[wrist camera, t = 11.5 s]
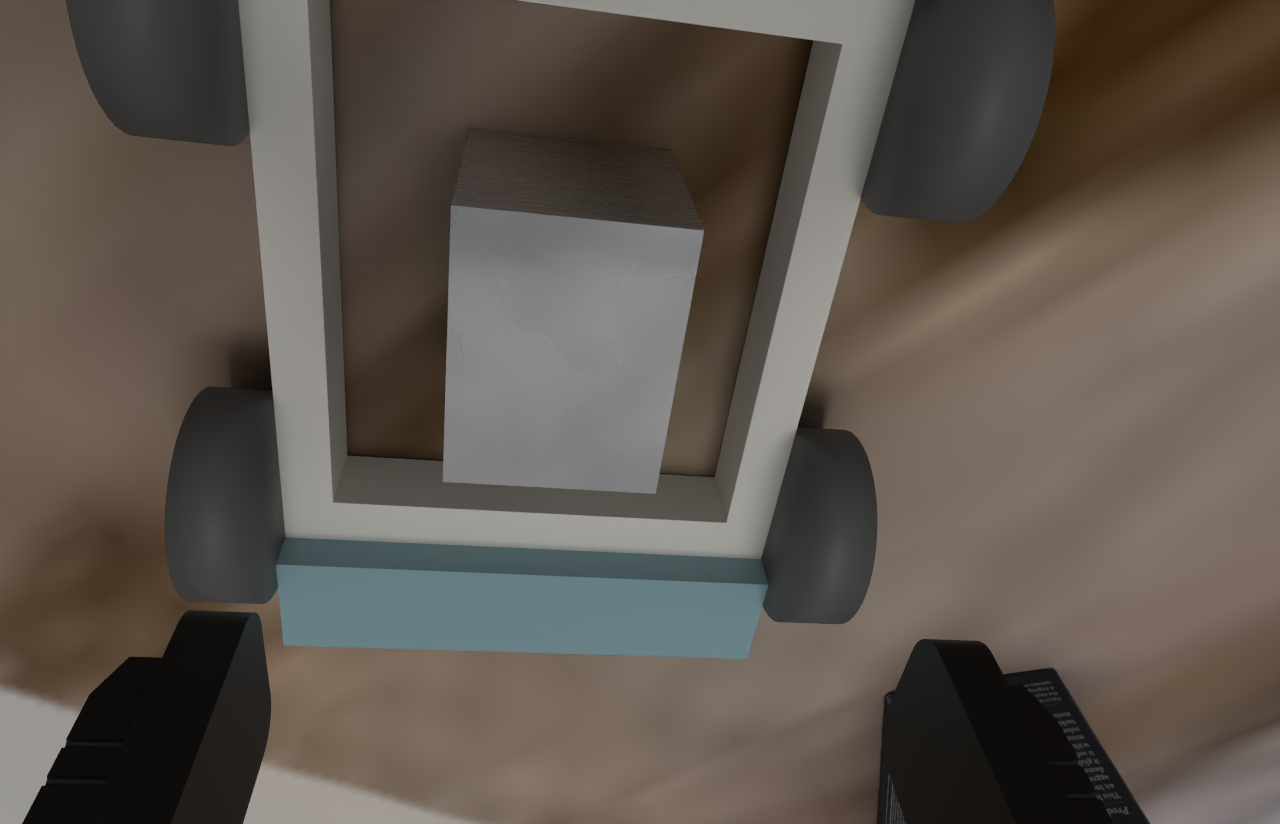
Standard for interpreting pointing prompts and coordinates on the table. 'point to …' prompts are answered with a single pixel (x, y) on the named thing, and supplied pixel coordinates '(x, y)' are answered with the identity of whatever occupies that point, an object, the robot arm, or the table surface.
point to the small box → (1081, 737)
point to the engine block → (565, 311)
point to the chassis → (535, 516)
